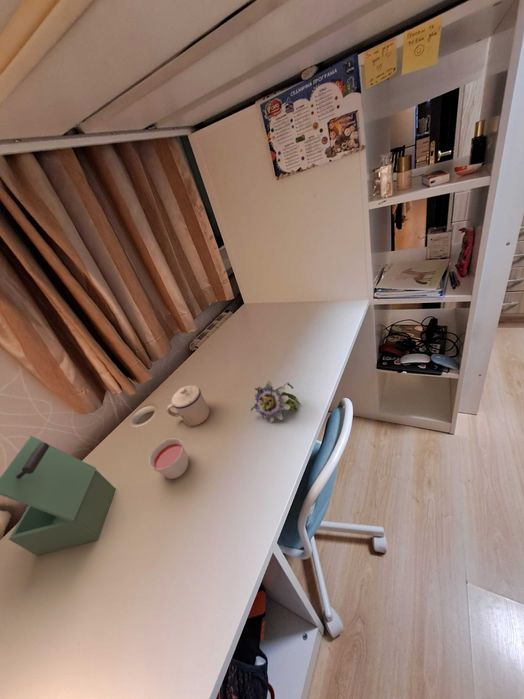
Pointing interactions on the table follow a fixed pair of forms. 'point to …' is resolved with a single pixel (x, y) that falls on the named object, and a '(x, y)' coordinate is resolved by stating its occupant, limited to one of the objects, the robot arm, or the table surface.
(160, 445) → the candle
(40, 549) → the green box
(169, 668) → the table surface
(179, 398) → the teacup with lid
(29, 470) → the lid
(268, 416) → the passion flower
